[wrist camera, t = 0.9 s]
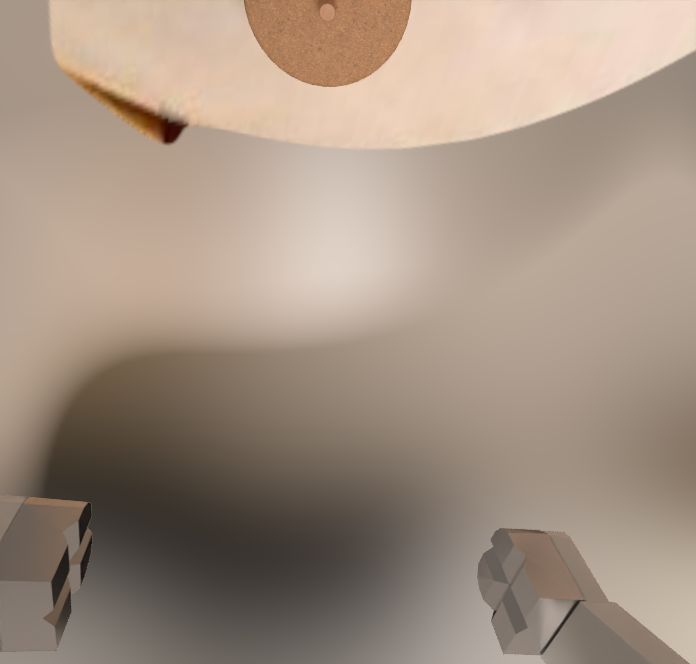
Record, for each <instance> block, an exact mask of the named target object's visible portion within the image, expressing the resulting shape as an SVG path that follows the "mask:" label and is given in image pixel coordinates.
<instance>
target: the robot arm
mask: <svg viewBox="0 0 696 664" xmlns="http://www.w3.org/2000/svg"><path fill="white" fill-rule="evenodd" d="M91 517H92V510H91V503H88V502H77V501H67V500H56V499H45V498H33V497H17V496H6V495H0V652H11V651H13V652H15V651H56V650H57V648H58V646H59V643H60V640H61V638H62V635H63V632H64V630H65V627H66V625H67V622H68V619H69V617H70V614H71V595H72V594H73V593H74V592H75V591H77V590H78V589H79V588H80V587H81V585H82V582H83V579H84V577H85V574H86V571H87V567H88V563H89V559H90V555H91V548H92V532H90V530H89V529H88V528H87V527H88V525H89V522H90V520H91ZM491 542H492V544H493V548H491V549H489V550H488V551H486V552H485V553H484V554H483V556H482V558H481V560H480V562H479V565H478V583H479V588H480V591H481V594H482V597H483V600H484V601H485V602H486V603H487V604H488V605H489V606H490V607H491V608H492V609H493V610H494V612H493V616H492V620H491V622H492V624H493V627H494V630H495V633H496V635H497V638H498V640H499V643H500V646H501V649H502V651H503V654H524V655H525V654H526V655H542V656H541V659H542V660H543V661H544V662H545V663H546V664H689V663H688V662H687V661H686V660H684V659H683V658H682V657H681V656H680V655H678V654H677V653H676V652H675V651H673V650H672V649H671V648H670V647H669V646H668V645H666V644H665V643H664V642H663V641H661V640H660V639H659V638H658V637H657V636H655V635H654V634H653V633H652V632H651V631H649V630H648V629H647V628H646V627H645V626H643V625H642V624H641V623H640V622H638V621H637V620H636V619H635V618H634V617H632V616H631V615H630V614H629V613H627V612H626V611H625V610H624V609H623V608H622V607H620V606H619V605H618V604H617V603H615V602H609V601H608V599H607V598H606V596H605V594H604V593H603V591H602V590H601V588H600V586H599V584H598V583H597V581H596V580H595V578H594V576H593V574H592V573H591V571H590V569H589V568H588V566H587V565H586V563H585V561H584V559H583V558H582V556H581V554H580V553H579V551H578V549H577V548H576V546H575V544H574V543H573V541H572V539H571V538H570V537H569V536H568V535H567V534H566V533H565V532H554V531H540V530H526V529H505V528H500V529H499V530H497V531H495V533H494V535H493V537H492V538H491Z"/></svg>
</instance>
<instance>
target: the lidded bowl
mask: <svg viewBox="0 0 696 664" xmlns="http://www.w3.org/2000/svg"><path fill="white" fill-rule="evenodd" d="M244 3H245V10H246V13H247V17H248V21H249V24H250V26H251V29H252V31H253V33H254V36H255V38H256V39H257V41H258V43H259V44H260V46H261V48H262V49H263V50H264V52H265V53H266V54H267V56H268V57H269V58H270V59H271V60H272V61H273V62H274V63H275V64H276V65H277V66H278V67H279V68H280V69H282V70H283V71H285V72H286V73H287V74H289V75H290V76H292V77H294V78H296V79H298V80H300V81H303V82H306V83H309V84H312V85H317V86H323V87H336V86H343V85H348V84H351V83H354V82H357V81H359V80H361V79H363V78H365V77H367V76H369V75H371V74H372V73H373V72H375V71H376V70H377V69H379V68H380V67H381V66H382V65H383V64H384V63H385V62H386V61H387V60H388V59H389V57H390V56H391V55H392V53H393V52H394V51H395V49H396V48H397V46H398V44H399V42H400V40H401V39H402V36H403V34H404V31H405V29H406V26H407V23H408V19H409V14H410V10H411V0H244Z"/></svg>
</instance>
